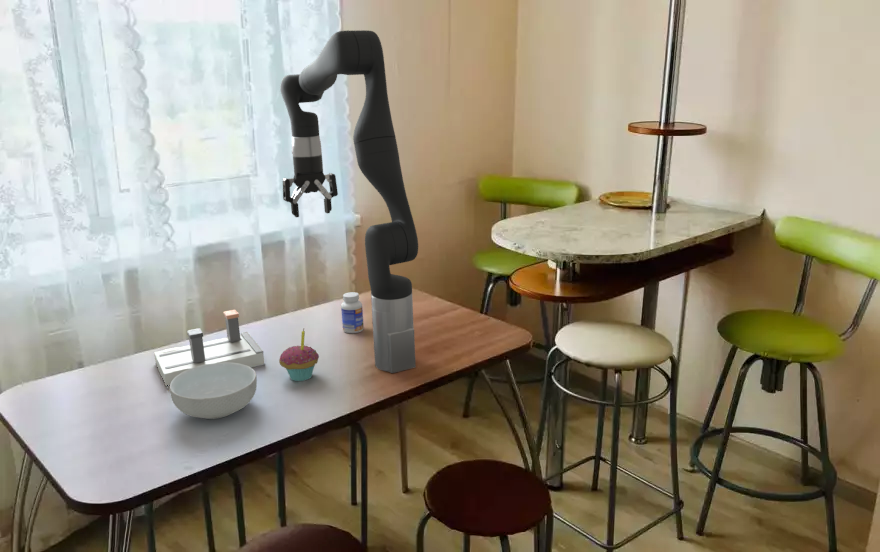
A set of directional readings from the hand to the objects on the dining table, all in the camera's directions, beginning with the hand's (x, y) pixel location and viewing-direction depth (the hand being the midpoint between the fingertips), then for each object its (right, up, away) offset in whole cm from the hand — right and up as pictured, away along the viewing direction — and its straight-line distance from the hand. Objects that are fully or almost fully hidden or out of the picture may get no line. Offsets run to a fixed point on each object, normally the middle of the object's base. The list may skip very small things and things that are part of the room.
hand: (312, 214), depth 196 cm
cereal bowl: (-12, -44, -45) cm, 64 cm away
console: (-20, -37, -24) cm, 48 cm away
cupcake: (+3, -39, -31) cm, 50 cm away
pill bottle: (+12, -30, -5) cm, 33 cm away
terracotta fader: (-16, -32, -18) cm, 40 cm away
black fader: (-21, -35, -29) cm, 50 cm away
